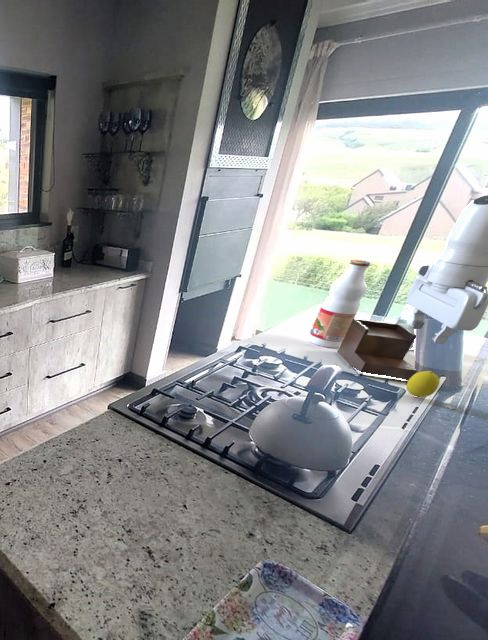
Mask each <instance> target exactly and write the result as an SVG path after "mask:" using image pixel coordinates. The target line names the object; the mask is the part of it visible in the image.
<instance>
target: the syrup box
mask: <svg viewBox="0 0 488 640" xmlns="http://www.w3.org/2000/svg"><path fill="white" fill-rule="evenodd" d="M414 309H415V307H413V306H411V305H409V304H408V303H406V304H405V305H404V307H403V309H402V312H401V313H400V315H399V317H398V318H397V321H396V322H395V324H400V325H402V326H403V327H405V328H406V329H408V330H409V331H411V332H412V333H414V328H412V327H410V324H411V322H412V318H413V311H414ZM413 343H414V341H413ZM413 343H412V345H411V346H410V348H409V349H411V348H412V347H413ZM411 351H412V350H409V352H411ZM412 352H413V351H412Z"/></svg>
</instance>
